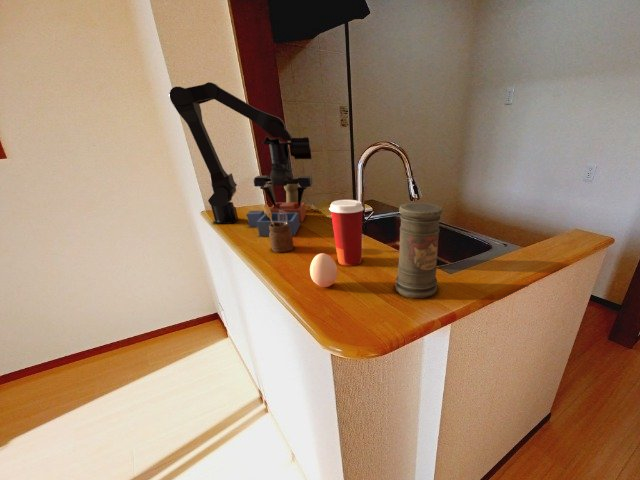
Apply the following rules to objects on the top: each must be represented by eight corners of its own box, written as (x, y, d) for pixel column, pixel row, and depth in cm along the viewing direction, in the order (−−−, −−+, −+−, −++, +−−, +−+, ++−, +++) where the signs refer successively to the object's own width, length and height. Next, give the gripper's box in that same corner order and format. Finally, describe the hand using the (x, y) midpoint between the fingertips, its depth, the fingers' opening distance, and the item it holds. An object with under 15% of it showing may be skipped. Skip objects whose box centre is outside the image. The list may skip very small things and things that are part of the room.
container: (387, 288, 70) (387, 205, 61) (415, 276, 76) (419, 199, 67) (417, 303, 65) (422, 215, 56) (444, 289, 70) (453, 207, 61)
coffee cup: (370, 257, 86) (368, 200, 78) (358, 269, 79) (355, 208, 71) (341, 253, 88) (337, 197, 80) (327, 265, 81) (321, 205, 73)
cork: (285, 209, 128) (281, 181, 122) (300, 208, 130) (297, 180, 124) (287, 213, 123) (283, 183, 117) (303, 212, 125) (299, 182, 120)
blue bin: (259, 236, 99) (256, 221, 97) (267, 226, 108) (265, 212, 106) (294, 235, 100) (292, 221, 98) (299, 226, 109) (298, 212, 107)
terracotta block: (281, 218, 114) (279, 206, 112) (284, 215, 118) (282, 203, 116) (294, 218, 115) (292, 206, 113) (296, 215, 119) (294, 203, 117)
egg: (343, 286, 70) (341, 254, 67) (320, 294, 67) (316, 261, 63) (329, 278, 74) (326, 247, 70) (307, 285, 71) (302, 253, 67)
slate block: (249, 226, 107) (246, 213, 105) (253, 223, 111) (250, 210, 108) (262, 226, 107) (260, 213, 105) (266, 223, 111) (263, 210, 109)
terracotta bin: (271, 222, 112) (268, 209, 109) (277, 214, 121) (275, 202, 119) (301, 222, 113) (300, 209, 111) (306, 214, 122) (304, 202, 120)
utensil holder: (285, 254, 86) (278, 209, 80) (266, 250, 88) (257, 207, 82) (298, 247, 91) (292, 204, 85) (279, 244, 93) (272, 202, 87)
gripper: (244, 161, 99) (254, 212, 107) (305, 162, 101) (311, 211, 109) (254, 158, 109) (262, 204, 116) (310, 158, 111) (314, 204, 118)
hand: (287, 206), depth 115 cm, fingers open, 8 cm apart
